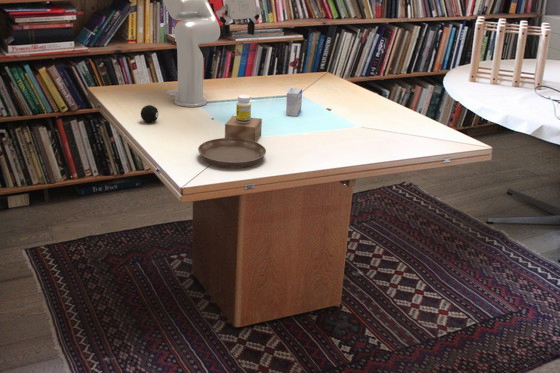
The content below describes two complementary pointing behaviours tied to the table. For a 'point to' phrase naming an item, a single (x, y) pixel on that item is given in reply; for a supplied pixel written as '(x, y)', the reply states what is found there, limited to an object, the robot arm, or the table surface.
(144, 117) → the billiard ball
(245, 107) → the supplement bottle
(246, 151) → the plant saucer
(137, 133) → the table surface
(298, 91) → the medicine box
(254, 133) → the walnut block
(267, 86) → the table surface
